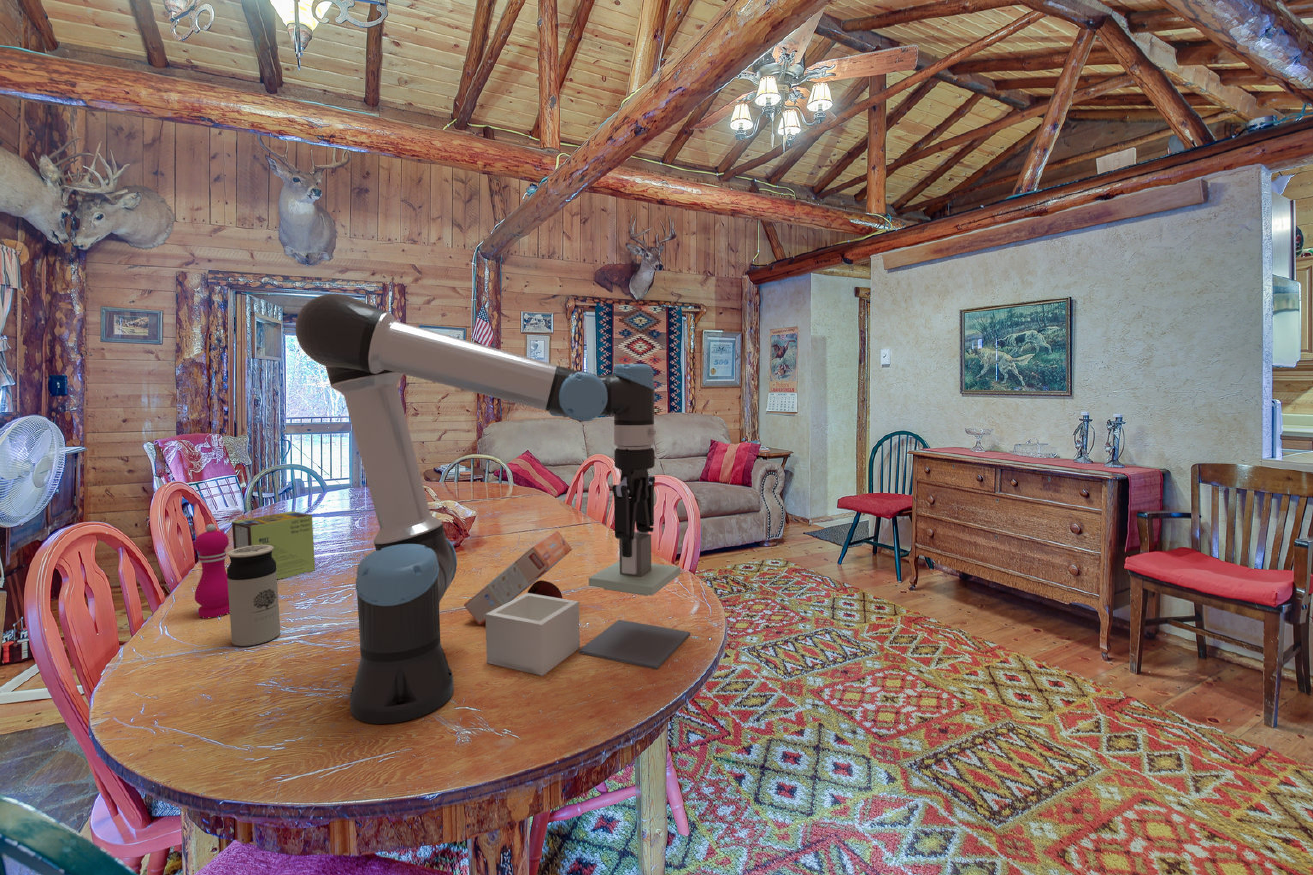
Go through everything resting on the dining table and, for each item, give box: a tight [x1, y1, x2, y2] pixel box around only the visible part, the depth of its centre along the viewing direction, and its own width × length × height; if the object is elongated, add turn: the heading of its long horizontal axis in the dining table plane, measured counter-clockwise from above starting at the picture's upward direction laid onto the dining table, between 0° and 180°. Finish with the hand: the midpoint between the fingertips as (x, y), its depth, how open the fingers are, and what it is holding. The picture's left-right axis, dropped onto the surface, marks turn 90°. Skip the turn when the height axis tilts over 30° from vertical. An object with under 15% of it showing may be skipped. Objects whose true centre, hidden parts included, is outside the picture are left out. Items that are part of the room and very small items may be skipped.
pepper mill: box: [194, 523, 230, 619], centre depth 130 cm, size 7×7×20 cm
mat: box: [578, 619, 691, 670], centre depth 114 cm, size 16×16×1 cm
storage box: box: [485, 592, 581, 677], centre depth 109 cm, size 12×12×9 cm
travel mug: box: [226, 545, 281, 647], centre depth 116 cm, size 8×8×18 cm
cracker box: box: [463, 530, 573, 626], centre depth 127 cm, size 14×6×21 cm
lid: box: [588, 533, 681, 597], centre depth 112 cm, size 13×13×10 cm
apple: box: [526, 579, 563, 599], centre depth 127 cm, size 7×8×8 cm
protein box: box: [231, 510, 316, 580], centre depth 157 cm, size 10×15×16 cm
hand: (635, 568), depth 113 cm, fingers closed on lid, 4 cm apart
